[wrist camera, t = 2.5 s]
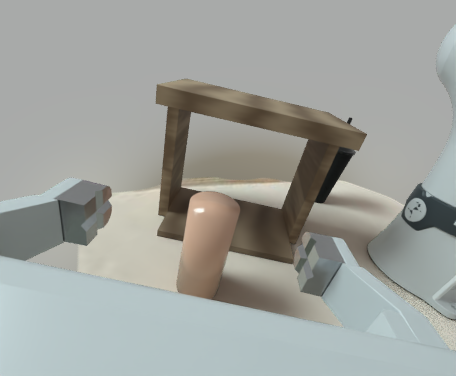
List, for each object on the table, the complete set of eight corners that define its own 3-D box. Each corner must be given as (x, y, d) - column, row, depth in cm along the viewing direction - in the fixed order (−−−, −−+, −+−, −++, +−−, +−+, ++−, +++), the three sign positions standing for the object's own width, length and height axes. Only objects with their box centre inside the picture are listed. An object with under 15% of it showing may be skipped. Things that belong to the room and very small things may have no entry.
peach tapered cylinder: (219, 271, 32) (240, 197, 26) (215, 306, 27) (239, 225, 22) (182, 264, 32) (195, 187, 26) (171, 297, 27) (184, 213, 21)
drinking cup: (295, 196, 57) (329, 113, 48) (304, 187, 63) (335, 112, 54) (326, 210, 54) (369, 125, 45) (332, 199, 60) (370, 122, 51)
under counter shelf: (286, 214, 48) (328, 112, 39) (301, 265, 36) (367, 134, 26) (173, 189, 48) (186, 78, 38) (147, 233, 35) (156, 84, 25)
